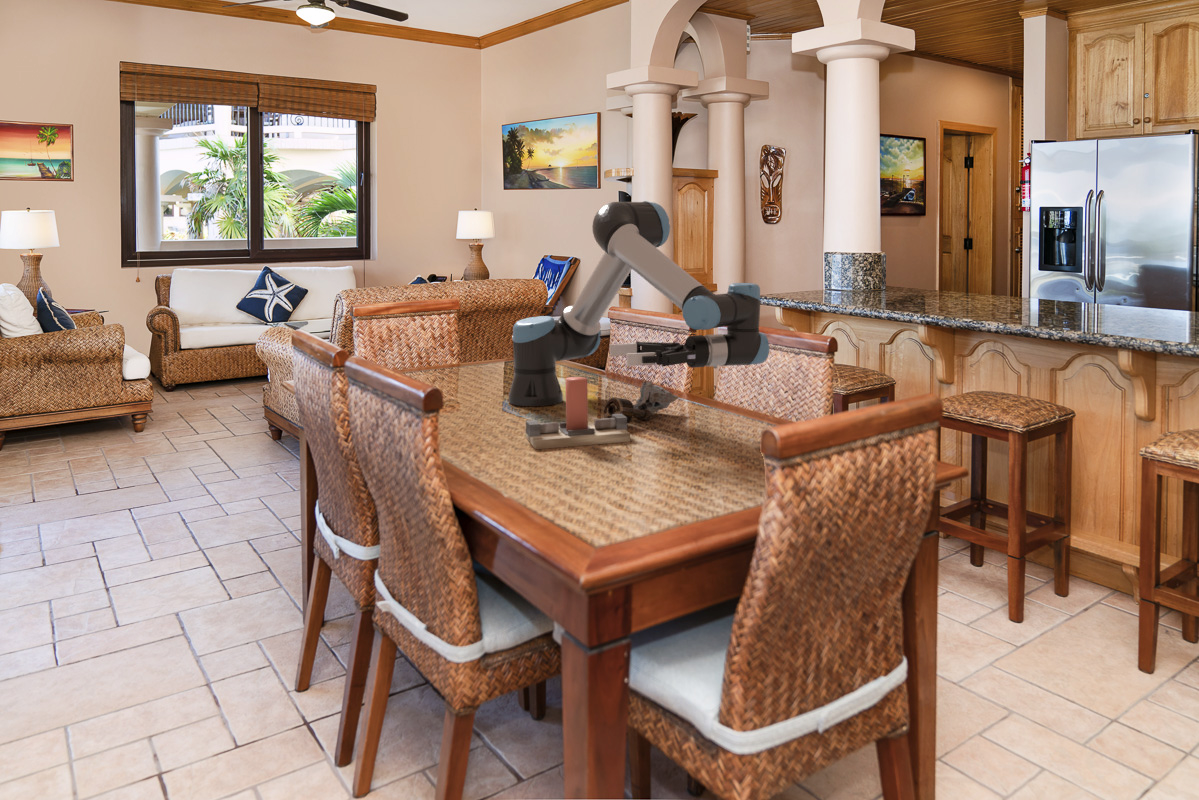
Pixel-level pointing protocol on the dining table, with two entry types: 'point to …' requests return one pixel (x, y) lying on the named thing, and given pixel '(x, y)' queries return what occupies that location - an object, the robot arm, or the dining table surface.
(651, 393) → the mineral specimen
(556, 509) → the dining table surface
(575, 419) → the red tall block
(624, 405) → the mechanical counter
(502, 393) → the dining table surface
